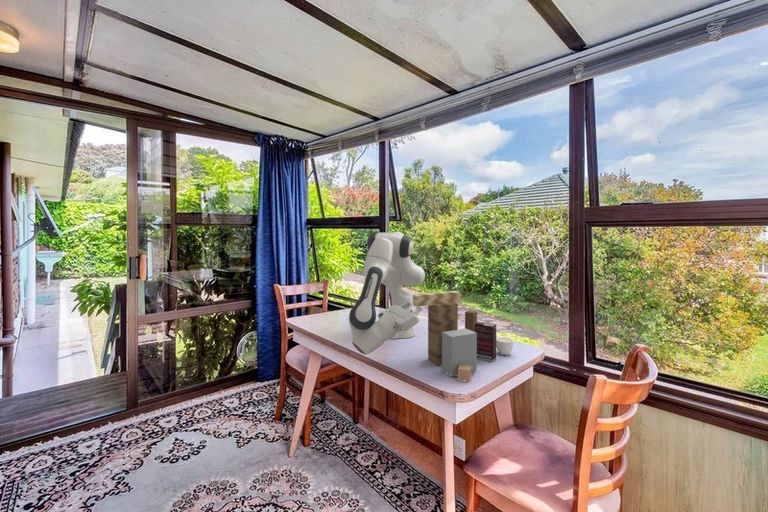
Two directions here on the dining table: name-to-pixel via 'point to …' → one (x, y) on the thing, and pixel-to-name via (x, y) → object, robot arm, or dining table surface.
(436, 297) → the oak bar
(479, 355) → the supplement box
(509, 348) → the cup
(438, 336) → the walnut stand
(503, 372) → the dining table surface
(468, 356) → the grey step block
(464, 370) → the clay cube
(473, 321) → the wooden block
